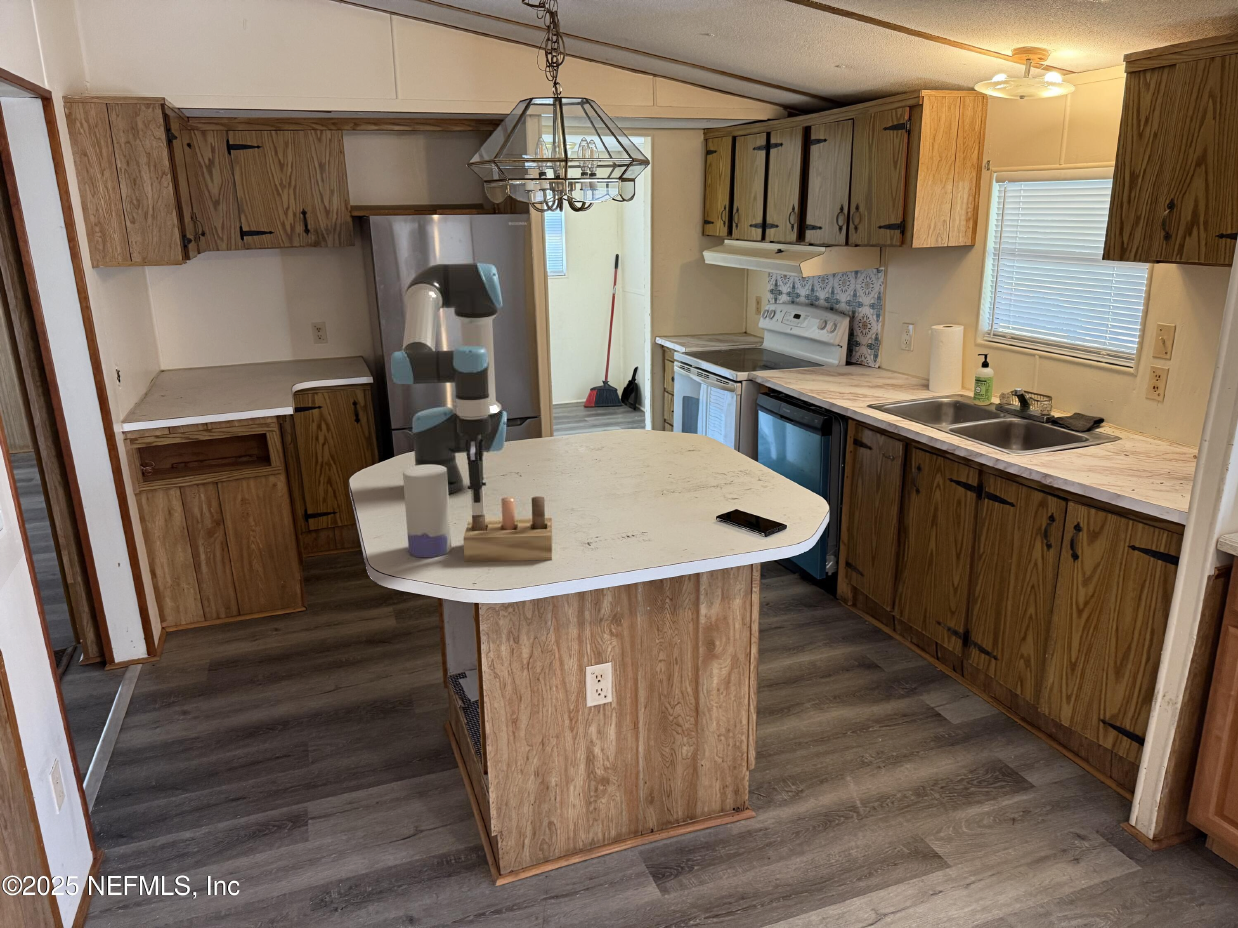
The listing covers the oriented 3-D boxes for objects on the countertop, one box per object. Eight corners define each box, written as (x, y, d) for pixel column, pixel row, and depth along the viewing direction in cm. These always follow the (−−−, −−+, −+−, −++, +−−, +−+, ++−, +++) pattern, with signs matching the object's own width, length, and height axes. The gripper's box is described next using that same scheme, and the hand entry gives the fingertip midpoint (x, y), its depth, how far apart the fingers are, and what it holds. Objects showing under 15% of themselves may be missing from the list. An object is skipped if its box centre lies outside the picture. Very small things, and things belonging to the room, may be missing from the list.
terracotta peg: (503, 529, 205) (501, 497, 202) (515, 528, 205) (514, 496, 203) (502, 533, 202) (500, 501, 200) (515, 533, 202) (513, 500, 200)
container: (454, 542, 210) (449, 463, 205) (448, 557, 201) (442, 475, 195) (413, 542, 210) (407, 464, 205) (404, 558, 200) (398, 476, 195)
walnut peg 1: (474, 544, 205) (472, 513, 203) (486, 544, 205) (485, 512, 203) (473, 549, 202) (471, 517, 200) (485, 549, 203) (484, 516, 200)
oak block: (470, 542, 210) (468, 519, 208) (552, 540, 211) (551, 517, 209) (464, 561, 198) (463, 537, 197) (551, 559, 200) (551, 535, 198)
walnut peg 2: (532, 528, 205) (531, 496, 203) (545, 528, 205) (544, 496, 203) (532, 532, 202) (531, 500, 200) (545, 532, 202) (544, 500, 200)
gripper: (459, 409, 201) (465, 505, 208) (453, 422, 189) (459, 524, 195) (492, 409, 202) (496, 504, 208) (487, 421, 189) (492, 523, 195)
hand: (478, 514), depth 201 cm, fingers closed
